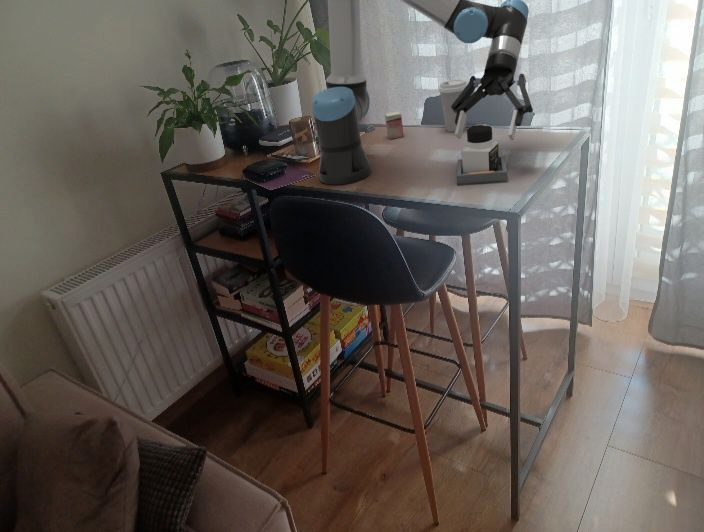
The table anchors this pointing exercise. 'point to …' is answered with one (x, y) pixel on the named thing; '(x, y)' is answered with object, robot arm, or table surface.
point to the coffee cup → (451, 101)
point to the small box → (394, 125)
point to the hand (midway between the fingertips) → (483, 137)
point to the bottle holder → (482, 174)
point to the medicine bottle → (480, 150)
